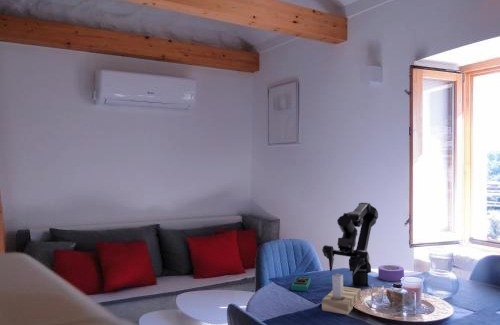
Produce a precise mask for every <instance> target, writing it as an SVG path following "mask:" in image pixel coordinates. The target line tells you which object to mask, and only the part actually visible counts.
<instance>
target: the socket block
mask: <svg viewBox="0 0 500 325" xmlns="http://www.w3.org/2000/svg"><path fill="white" fill-rule="evenodd" d="M360 297H361V298H362V288H356V287H349V286H343V299H344V300H343V301H342V300H335V299H333V289H332V290H331V291H330V292H329V293H328V294H327V295H325V296H324V297H323V298H322V299H321V311H324V312H330V313H336V314H341V315H342V314H343V315H349V314H350V312H351V311H353V309H354V308H353V306H354V304H355V303H356V302H357V301H358V300H359V299H360ZM360 300H361V299H360ZM360 300H359V301H360ZM354 307H355V306H354Z"/></svg>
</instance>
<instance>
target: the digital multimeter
mask: <svg viewBox="0 0 500 325" xmlns="http://www.w3.org/2000/svg"><path fill="white" fill-rule="evenodd" d="M311 279H312V278H311V277H308V276H295V278H294V280H293V282H292V283H291V285H290V290H291V291H295V290H296V291H297V292H298V291H299V292H307V291H308V290H309V286H310V284H311V282H312V280H311ZM296 291H295V292H296Z"/></svg>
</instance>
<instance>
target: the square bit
mask: <svg viewBox="0 0 500 325" xmlns="http://www.w3.org/2000/svg"><path fill="white" fill-rule="evenodd" d="M331 276H332V277H331V278H332V279H331V281H332V282H331V283H332V290H333V299H335V300H342V301H343V300H344V299H343V287H344V274H342V273H333V274H332V275H331Z"/></svg>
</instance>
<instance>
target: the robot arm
mask: <svg viewBox="0 0 500 325" xmlns="http://www.w3.org/2000/svg"><path fill="white" fill-rule="evenodd" d="M378 218H379V212H378V210H377V208H376V207H374V206H372V205H371V203H369V202H359V203H358V206H356V208H354V210H353V211H348V212H347V213H346V212H344V213H343V214H342V215H341V216H340V217H338V219H337V221H336V222H337V224H338V227H339V228H340V231H341V232H342V236H341V237H338V238H337V244H336V245H337V246H338V247H337V249H338V250H337V249H335V248H334V246H333V245H326V244H325V245H323V246H322V250H321V252H322V254H323V256H324V257H325V258H326V259H328V265H329V272H332V270H333V266H334V261H335V256H336V255H337V256H341V257H342V256H343V257H349V259H348V268H349V271H350V272H352V273H351V283H352V285H353V286H354V287H370V285H369V273H371V272H372V266H371V263H370V256H369V255H370V254H369V252H368V245H369V241H370V236H371V230H372V227H373V226H375V225H376V223H377V220H378ZM357 228H360V230H359V234H358V229H357ZM357 237H358V240H357ZM356 240H357V241H356ZM356 243H357V244H356ZM355 247H356V249H355Z"/></svg>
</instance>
